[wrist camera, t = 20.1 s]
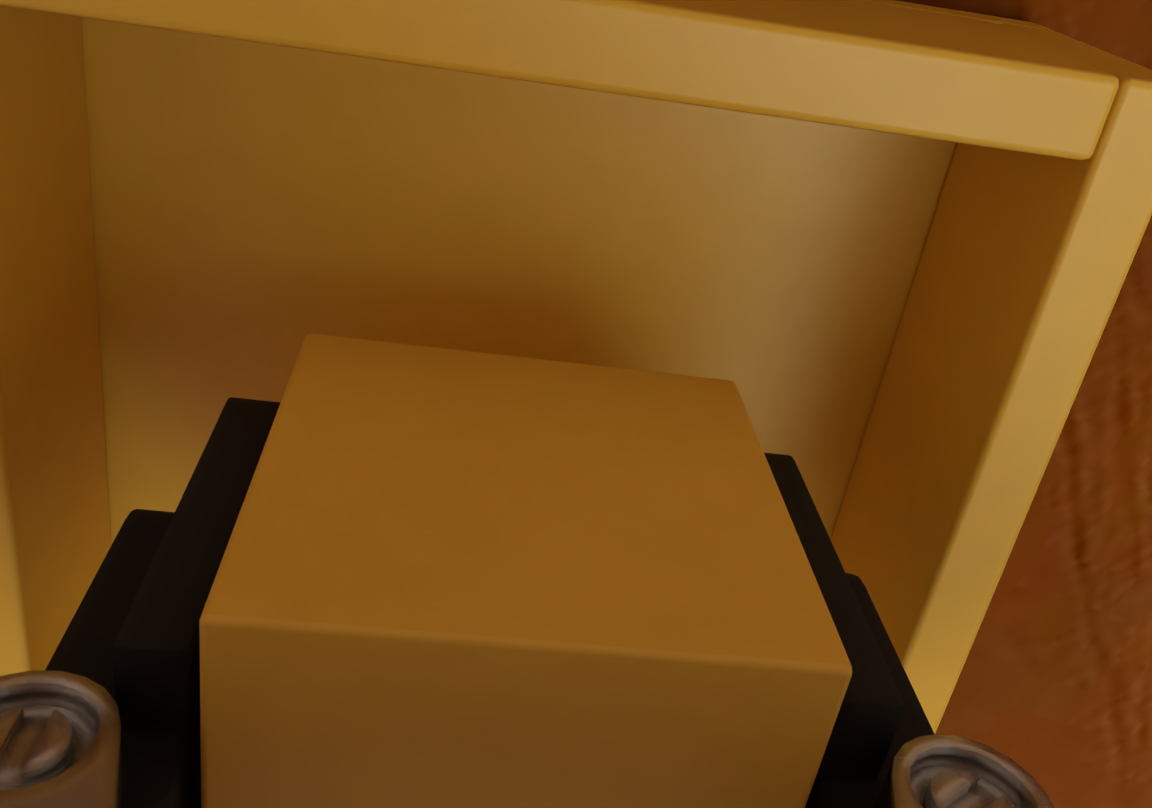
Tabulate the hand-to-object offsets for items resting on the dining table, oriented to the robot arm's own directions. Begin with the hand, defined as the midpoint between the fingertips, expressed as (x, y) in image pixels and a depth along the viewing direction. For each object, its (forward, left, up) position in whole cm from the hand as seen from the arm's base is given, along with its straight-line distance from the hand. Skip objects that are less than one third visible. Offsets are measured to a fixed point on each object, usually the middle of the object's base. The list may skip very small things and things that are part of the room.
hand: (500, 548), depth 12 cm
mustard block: (0, 0, 0) cm, 0 cm away
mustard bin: (0, 0, -3) cm, 3 cm away
